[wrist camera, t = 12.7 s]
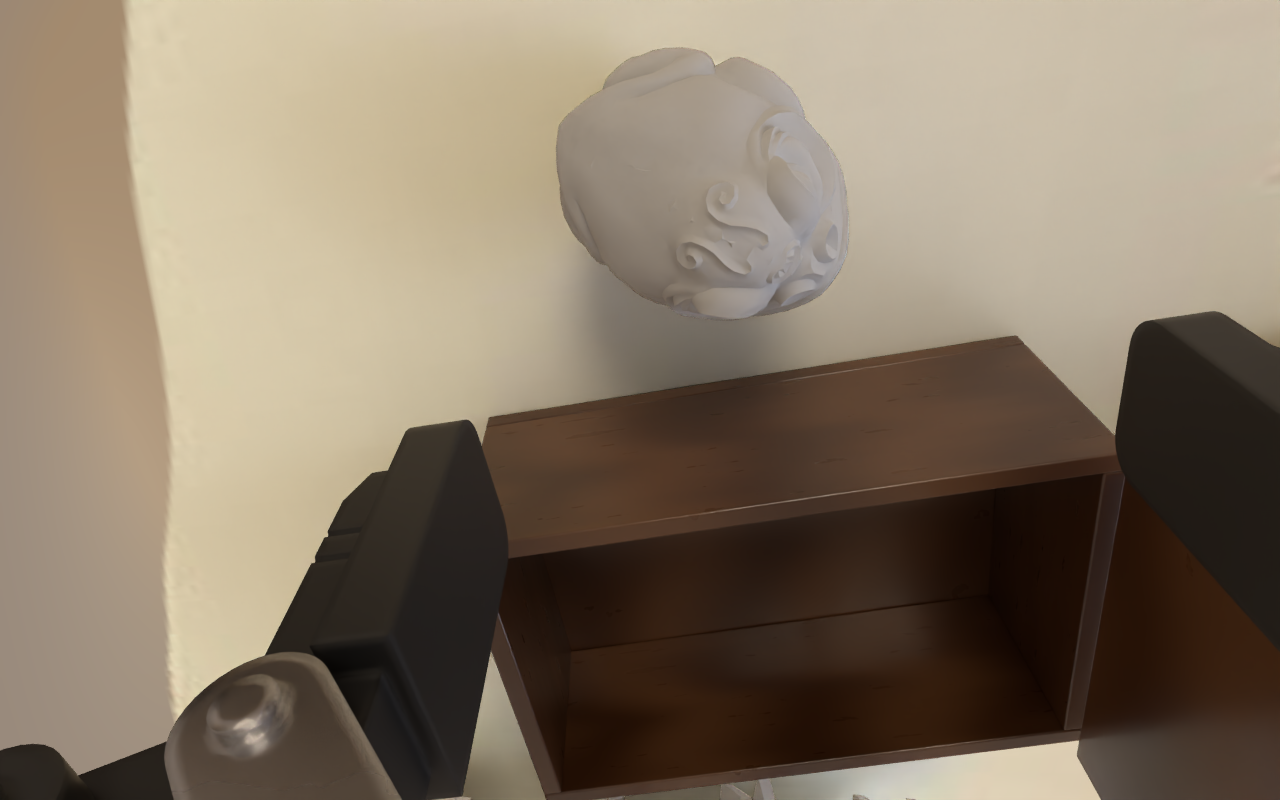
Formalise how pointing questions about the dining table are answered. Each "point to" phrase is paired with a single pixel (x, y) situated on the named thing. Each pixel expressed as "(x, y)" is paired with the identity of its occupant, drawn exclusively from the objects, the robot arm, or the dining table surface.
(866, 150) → the dining table surface
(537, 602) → the chest
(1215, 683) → the chest lid
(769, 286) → the grey rounded lumpy piece
